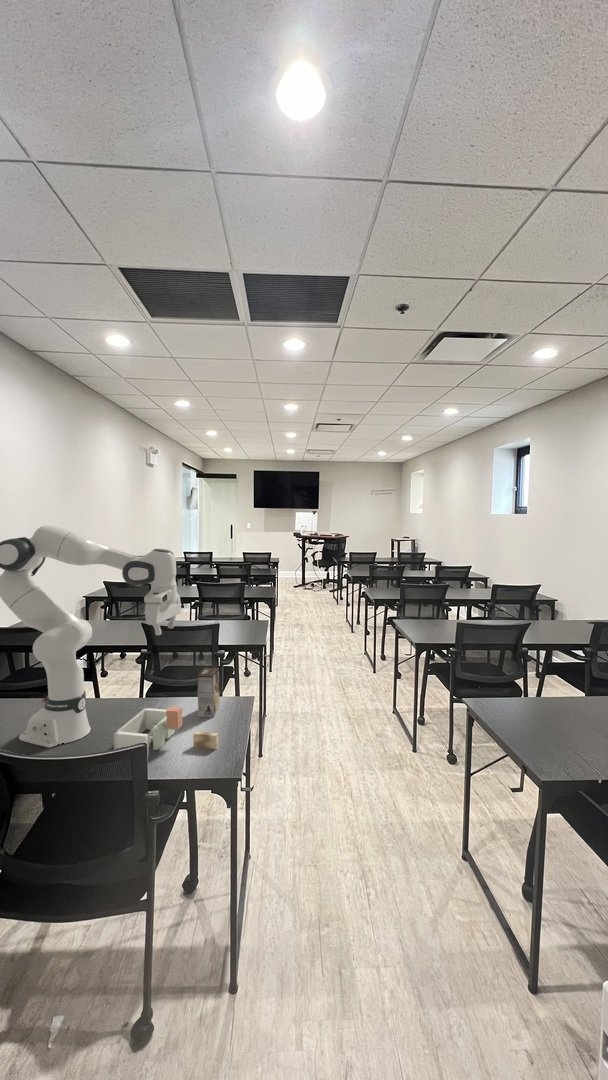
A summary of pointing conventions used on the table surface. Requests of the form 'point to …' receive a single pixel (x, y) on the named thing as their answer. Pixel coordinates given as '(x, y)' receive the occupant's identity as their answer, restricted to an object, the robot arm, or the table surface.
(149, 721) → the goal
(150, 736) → the soldier figure
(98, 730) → the table surface
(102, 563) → the robot arm
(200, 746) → the tan wooden block
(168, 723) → the t-shaped crossbar
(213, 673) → the coffee box
